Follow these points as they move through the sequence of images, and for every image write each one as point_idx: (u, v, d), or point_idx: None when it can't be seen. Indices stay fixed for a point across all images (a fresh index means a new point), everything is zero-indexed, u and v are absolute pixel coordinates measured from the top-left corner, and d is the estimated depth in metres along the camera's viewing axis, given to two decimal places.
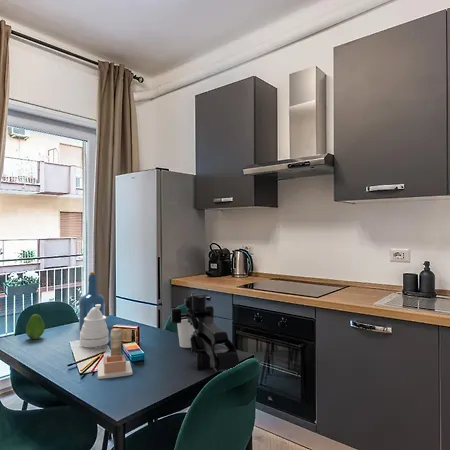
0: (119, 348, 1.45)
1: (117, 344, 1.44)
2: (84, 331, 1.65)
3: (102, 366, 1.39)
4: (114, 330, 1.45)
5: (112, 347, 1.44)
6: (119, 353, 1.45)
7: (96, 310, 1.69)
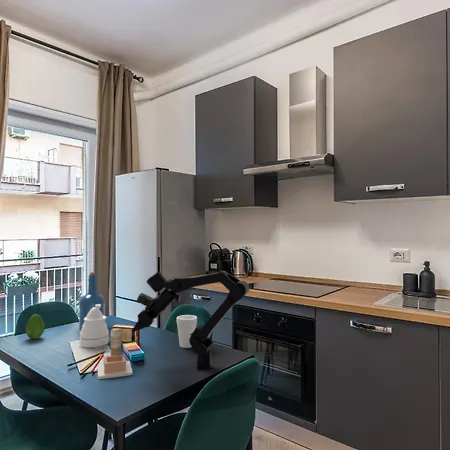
0: (119, 348, 1.45)
1: (117, 344, 1.44)
2: (84, 331, 1.65)
3: (102, 366, 1.39)
4: (114, 330, 1.45)
5: (112, 347, 1.44)
6: (119, 353, 1.45)
7: (96, 310, 1.69)
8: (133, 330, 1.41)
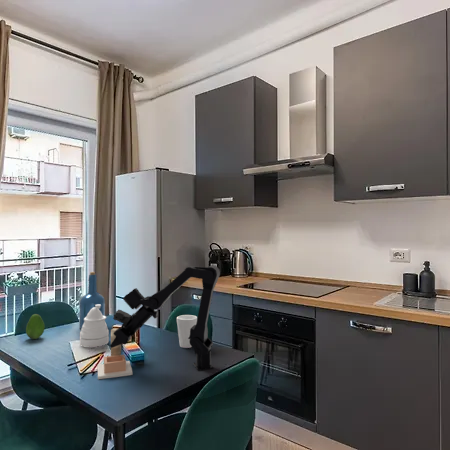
0: (119, 348, 1.45)
1: None
2: (84, 331, 1.65)
3: (102, 366, 1.39)
4: (114, 330, 1.45)
5: None
6: (119, 353, 1.45)
7: (96, 310, 1.69)
8: (111, 346, 1.43)
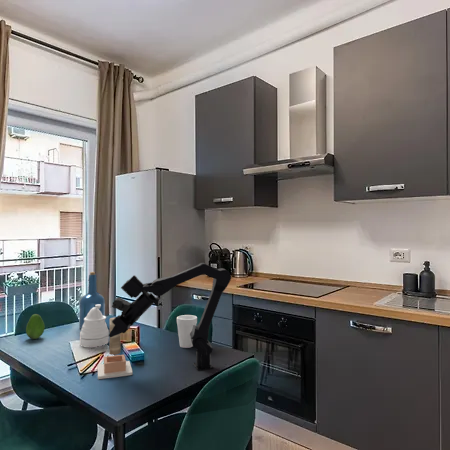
0: (118, 338, 1.37)
1: None
2: (84, 331, 1.65)
3: (102, 366, 1.39)
4: (113, 319, 1.37)
5: (111, 337, 1.36)
6: (118, 343, 1.37)
7: (96, 310, 1.69)
8: (110, 335, 1.35)
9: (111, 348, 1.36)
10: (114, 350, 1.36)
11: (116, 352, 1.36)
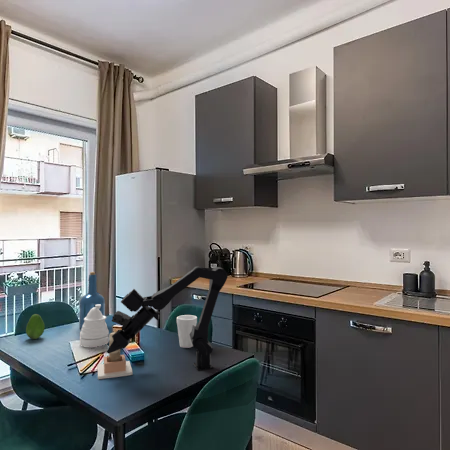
0: (118, 353, 1.36)
1: None
2: (84, 331, 1.65)
3: (102, 366, 1.39)
4: (113, 334, 1.37)
5: (111, 352, 1.35)
6: (118, 358, 1.36)
7: (96, 310, 1.69)
8: (108, 351, 1.33)
9: None
10: None
11: None
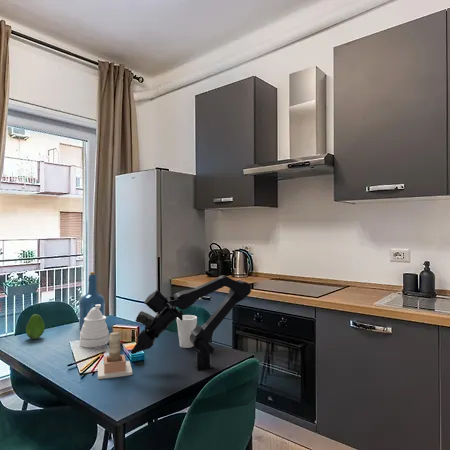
0: (118, 353, 1.36)
1: (116, 349, 1.35)
2: (84, 331, 1.65)
3: (102, 366, 1.39)
4: (113, 334, 1.36)
5: (111, 352, 1.35)
6: (118, 358, 1.36)
7: (96, 310, 1.69)
8: (132, 352, 1.32)
9: None
10: None
11: None
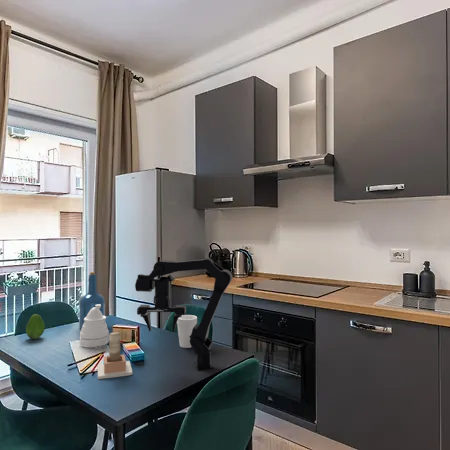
0: (118, 353, 1.36)
1: (116, 349, 1.35)
2: (84, 331, 1.65)
3: (102, 366, 1.39)
4: (113, 334, 1.37)
5: (111, 352, 1.35)
6: (118, 358, 1.36)
7: (96, 310, 1.69)
8: None
9: None
10: None
11: None
